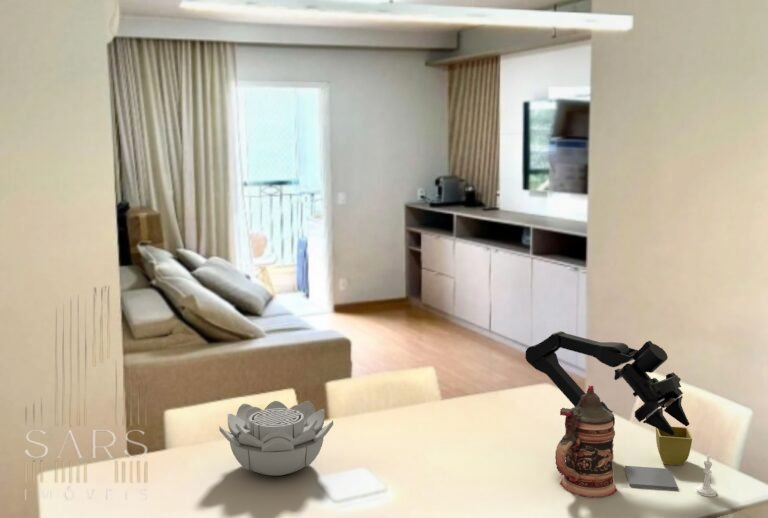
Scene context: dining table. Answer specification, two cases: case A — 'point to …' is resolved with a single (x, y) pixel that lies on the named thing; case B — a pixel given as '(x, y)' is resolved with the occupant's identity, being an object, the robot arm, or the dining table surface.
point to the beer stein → (587, 448)
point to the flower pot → (674, 445)
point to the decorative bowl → (276, 437)
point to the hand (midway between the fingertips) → (681, 429)
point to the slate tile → (650, 477)
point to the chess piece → (706, 481)
